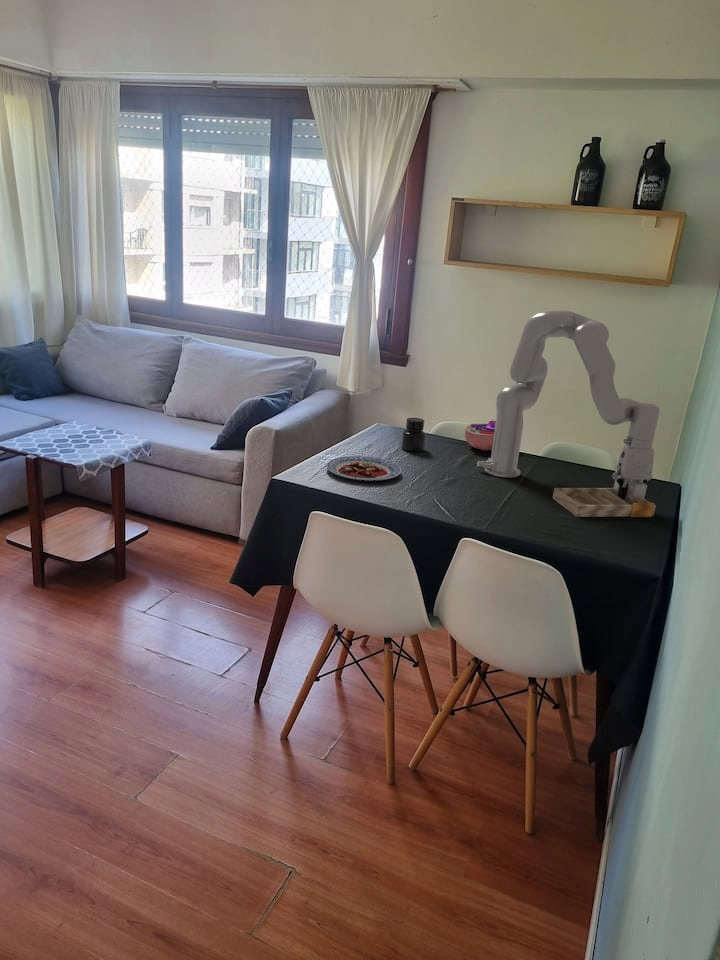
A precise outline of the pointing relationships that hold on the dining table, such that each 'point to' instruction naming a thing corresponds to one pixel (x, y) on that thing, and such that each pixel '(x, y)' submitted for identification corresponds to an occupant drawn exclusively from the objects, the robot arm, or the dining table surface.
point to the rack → (600, 503)
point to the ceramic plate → (363, 468)
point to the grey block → (632, 491)
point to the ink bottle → (414, 435)
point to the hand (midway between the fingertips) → (627, 497)
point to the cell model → (481, 435)
